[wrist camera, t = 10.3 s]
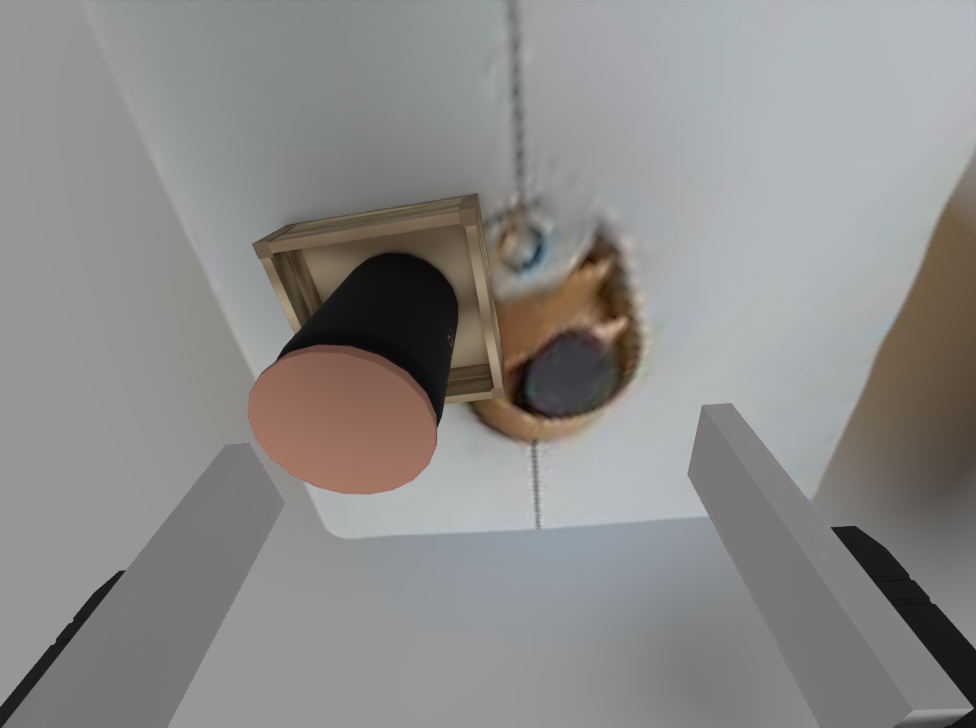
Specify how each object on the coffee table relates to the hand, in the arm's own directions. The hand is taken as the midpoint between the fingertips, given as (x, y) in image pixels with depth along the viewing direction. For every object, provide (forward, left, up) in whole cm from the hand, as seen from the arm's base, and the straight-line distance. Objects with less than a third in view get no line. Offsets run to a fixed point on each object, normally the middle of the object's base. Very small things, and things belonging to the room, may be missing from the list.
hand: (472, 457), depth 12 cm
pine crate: (+5, -9, -28) cm, 29 cm away
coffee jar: (+5, -9, -27) cm, 29 cm away
